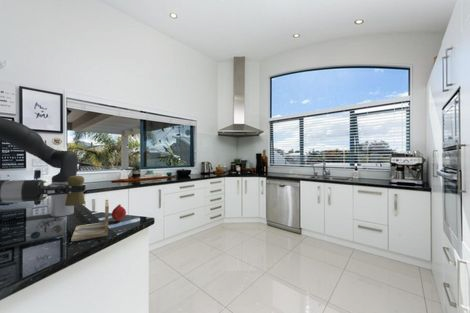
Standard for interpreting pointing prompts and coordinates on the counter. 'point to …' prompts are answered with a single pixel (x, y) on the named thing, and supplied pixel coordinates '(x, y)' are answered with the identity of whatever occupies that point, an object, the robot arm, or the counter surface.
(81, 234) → the condiment stand
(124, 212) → the onion
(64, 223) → the counter surface
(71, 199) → the olive yellow tapered cylinder
